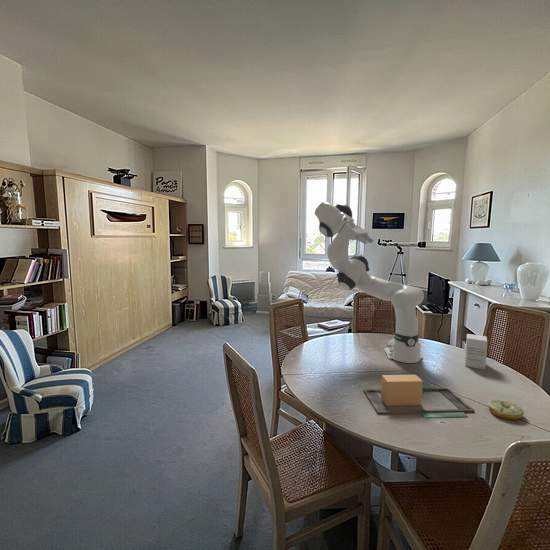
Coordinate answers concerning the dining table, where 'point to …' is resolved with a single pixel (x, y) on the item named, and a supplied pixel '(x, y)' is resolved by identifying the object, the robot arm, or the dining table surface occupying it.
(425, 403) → the dining table surface
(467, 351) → the supplement box
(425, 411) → the trap lane
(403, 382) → the orange block
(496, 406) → the decorated donut
